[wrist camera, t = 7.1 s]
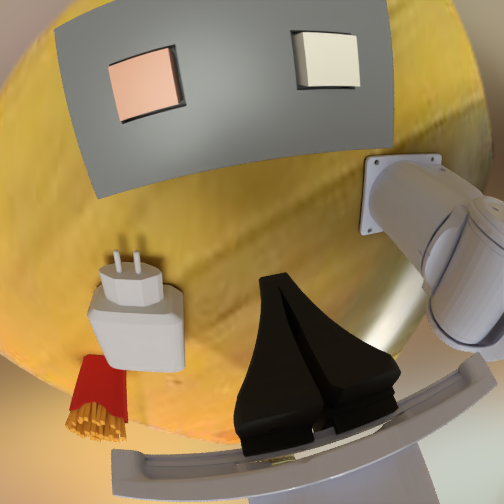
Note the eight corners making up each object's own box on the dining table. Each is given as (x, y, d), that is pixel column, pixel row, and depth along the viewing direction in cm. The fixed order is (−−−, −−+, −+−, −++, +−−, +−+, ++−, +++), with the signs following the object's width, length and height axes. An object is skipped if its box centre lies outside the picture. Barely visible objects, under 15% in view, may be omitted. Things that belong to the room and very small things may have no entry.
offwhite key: (333, 39, 13) (356, 35, 10) (337, 82, 15) (360, 86, 12) (286, 38, 13) (302, 32, 10) (291, 84, 15) (308, 86, 12)
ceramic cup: (295, 430, 68) (302, 459, 60) (273, 440, 72) (279, 466, 64) (263, 430, 62) (270, 462, 54) (241, 439, 65) (246, 469, 57)
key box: (354, -3, 12) (383, -12, 9) (364, 133, 19) (392, 147, 16) (80, 34, 11) (54, 29, 8) (114, 176, 18) (97, 199, 15)
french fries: (127, 357, 32) (121, 439, 23) (133, 371, 34) (130, 446, 25) (73, 352, 30) (60, 428, 21) (83, 366, 33) (72, 437, 23)
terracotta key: (174, 53, 12) (167, 47, 10) (182, 99, 14) (178, 104, 12) (123, 68, 12) (107, 67, 10) (133, 113, 14) (120, 121, 12)
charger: (184, 235, 23) (184, 339, 31) (84, 232, 21) (112, 335, 29) (181, 271, 19) (185, 373, 28) (66, 266, 17) (107, 368, 26)
